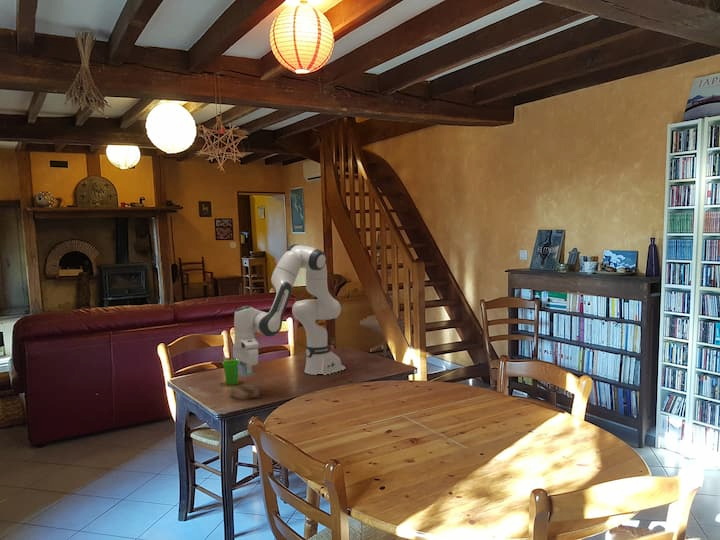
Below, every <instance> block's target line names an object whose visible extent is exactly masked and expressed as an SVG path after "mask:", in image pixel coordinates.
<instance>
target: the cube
mask: <svg viewBox="0 0 720 540" xmlns="http://www.w3.org/2000/svg"><path fill="white" fill-rule="evenodd" d="M246 369H247V366H246V363H241V364H238V377H239V376H240V377H241V378H245V377H250V376H253V373H254V372H253V366H252V367H251V373H247V372H246Z"/></svg>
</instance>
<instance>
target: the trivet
mask: <svg viewBox="0 0 720 540" xmlns="http://www.w3.org/2000/svg"><path fill="white" fill-rule="evenodd" d="M260 395H261V388H260V385H256V384H241V385H237V386H234V387H232V388H231V389H230V396H231V399H234V400H238V401H246V400H247V399H248V400H253V399H256V398H258V397H259V396H260ZM252 398H253V399H252ZM248 400H247V401H248Z"/></svg>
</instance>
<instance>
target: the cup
mask: <svg viewBox="0 0 720 540" xmlns="http://www.w3.org/2000/svg"><path fill="white" fill-rule="evenodd" d="M238 364H239V360H237V359H227V360H224V361H222V365H223V370H224V376H225V382H226V385H227V384H228V385H227V386H235V385H237V384H238V381H239V375H238Z"/></svg>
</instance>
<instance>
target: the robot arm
mask: <svg viewBox="0 0 720 540" xmlns="http://www.w3.org/2000/svg"><path fill="white" fill-rule="evenodd" d="M301 268H302V269H305V289H306V291H307V292H308V293H309V294H311V295H312V296H314V297H316V298H317V299H302V300H297V301H295V302H294V303H293V305H292V308H291V311H292V312H291V313H292V316H293V317H294V319H296V320H297V321H299V323H300V324H301V325H302V326H303V328H304V330H305V335H306V345H305V355H306V360H305V361H306V362H305V368H304V370H303V372H304V373H305V374H308V375H313V376H314V375H315V376H316V375H317V374H323V375H322V376H328V375H327V374H329V375H331V373H332V374H335V373H338V371H339V372H341V370H342V371H344V369H345V370H346V366H344V365H343V364H342V361H341V358H340V357H339V356H338V355H336V354H335V353H334V352H333V351H331V350H334V349H335V346H334V345H329V344H328V330H327V329H326V328H325V327H324V326H321V325H319V324H317V323H316V321H320V320H322V321H324V320H332V319H337V318H338V317H339V316H340V314H341V310H342V307H341V304H340V302H339V301H338V299H335V298H334V297H333V296H332V295H331V294H330V291H329V287H328V268H327V256H326V254H325V252H324V251H323V250H321V249H318V248H315V247H312V246H308V245H302V244H301V245H300V244H297V243H296V244H294V243H293V244H290V245H289V246H288V247H287V248H286V251H285V252H284V254H283V255H282V256H281V258H280V259H279V261H278V262H277V264H276V266H275V268H274V270H273V272H272V274H271V277H270V278H271V279H270V282H271V284H272V286H273V288H274V289H275V293H276V294H275V298H274V300H273V303H272V305H271V308H270V310H269V311H268V312H266V311H262V310H259V309H256V308H255V307H252V306H251V305H244V306H243V305H242V306H239V307H237V308H236V309H235V311H234V317H233V324H234V325H233V326H234V343H233V347H232V357H233V359H234V360H239V364H241V363H246V366H247V369H246V372H247V373H251V367H252V368H253V367H254V366H257V365H258V363H259V349H258V348H259V346H260V344H259V342H258V341H257V339H256V337H255V333H257V332H258V333H260V334H263V335H264V336H266V337H274V336H276V335H278V334H279V332H280V331H281V329H282V325H283V319H284V318H283V317H284V314H285V311H286V308H287V306H288V303H289V300H290V298H291V296H292V292H293V287H294V284H295V283H296V282H295V281H296V279H297V278H298V275H299V272H300V270H301ZM334 372H335V373H334Z"/></svg>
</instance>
